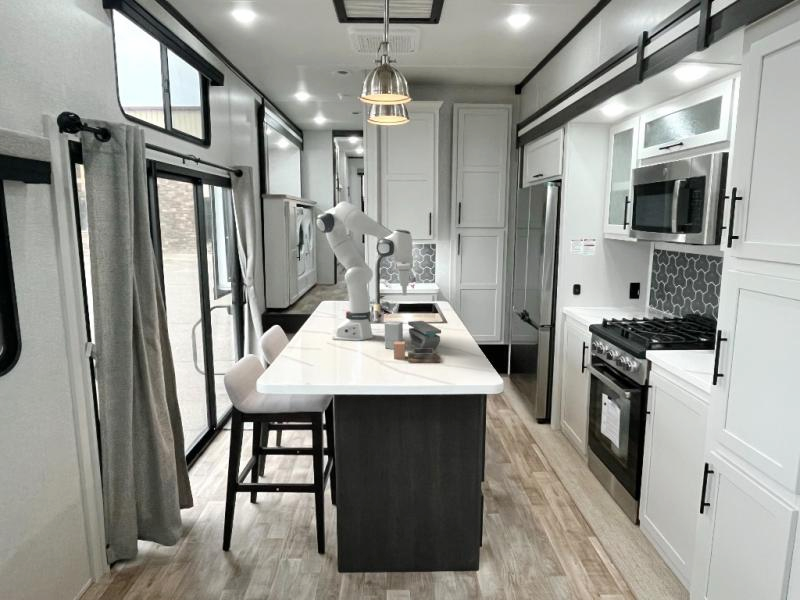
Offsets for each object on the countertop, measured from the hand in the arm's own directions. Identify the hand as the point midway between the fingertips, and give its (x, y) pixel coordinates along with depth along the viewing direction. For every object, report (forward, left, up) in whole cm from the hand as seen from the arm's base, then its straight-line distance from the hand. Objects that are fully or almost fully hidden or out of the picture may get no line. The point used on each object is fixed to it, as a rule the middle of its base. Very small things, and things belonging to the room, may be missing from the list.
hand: (404, 293), depth 234 cm
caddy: (+9, -12, -28) cm, 32 cm away
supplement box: (-5, +9, -29) cm, 30 cm away
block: (-2, -10, -28) cm, 30 cm away
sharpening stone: (+10, +10, -29) cm, 32 cm away
